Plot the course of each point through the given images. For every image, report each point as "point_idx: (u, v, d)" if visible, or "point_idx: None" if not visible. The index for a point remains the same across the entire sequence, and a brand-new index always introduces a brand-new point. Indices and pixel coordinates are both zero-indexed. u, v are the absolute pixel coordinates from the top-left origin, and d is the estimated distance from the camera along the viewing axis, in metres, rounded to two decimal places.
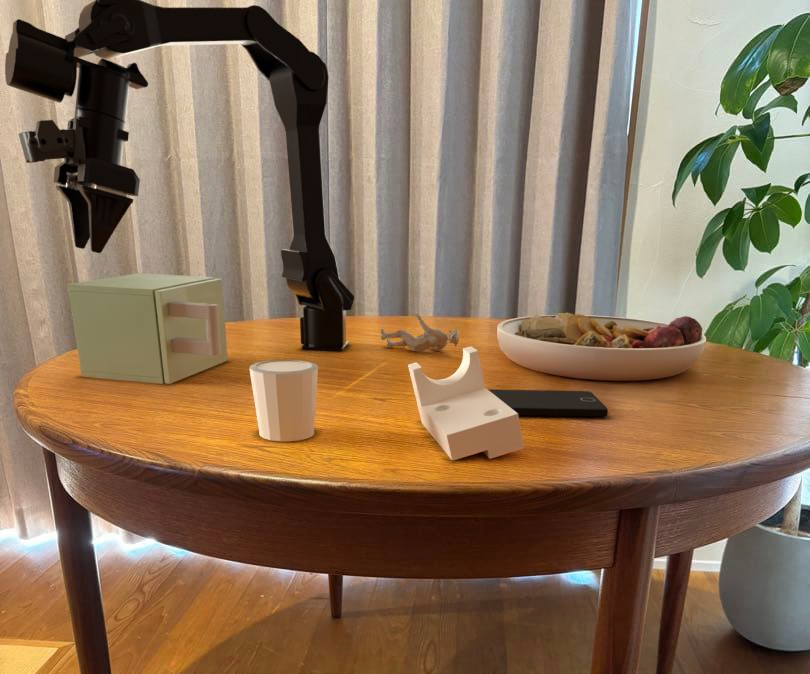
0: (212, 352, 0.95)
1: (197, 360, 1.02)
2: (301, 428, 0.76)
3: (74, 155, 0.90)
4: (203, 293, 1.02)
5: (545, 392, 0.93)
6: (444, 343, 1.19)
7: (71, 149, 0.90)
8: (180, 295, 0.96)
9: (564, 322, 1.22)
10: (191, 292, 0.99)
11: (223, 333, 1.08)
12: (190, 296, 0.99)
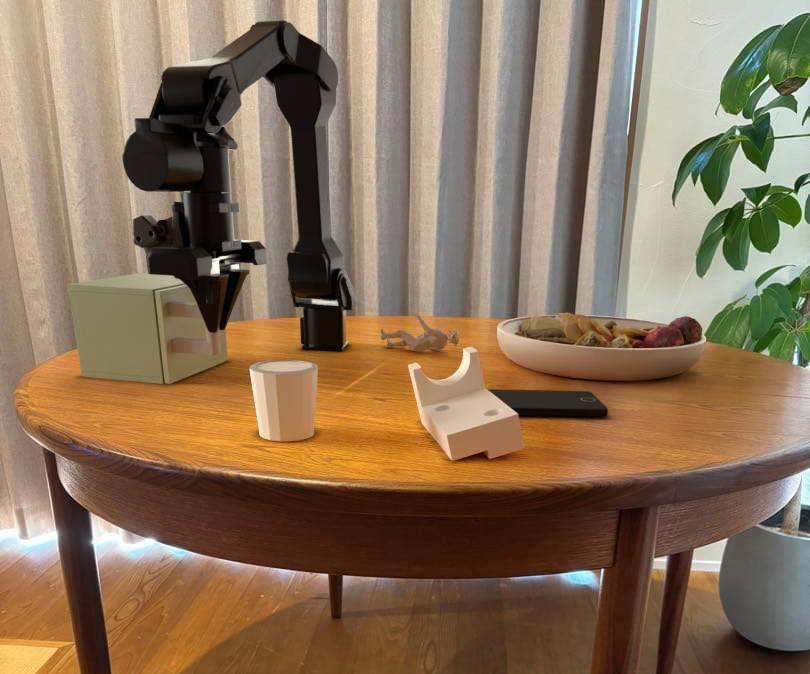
0: (212, 352, 0.95)
1: (197, 360, 1.02)
2: (301, 428, 0.76)
3: (173, 242, 0.88)
4: None
5: (545, 392, 0.93)
6: (444, 343, 1.19)
7: (171, 237, 0.88)
8: (180, 295, 0.96)
9: (564, 322, 1.22)
10: (191, 292, 0.99)
11: (223, 333, 1.08)
12: (190, 296, 0.99)
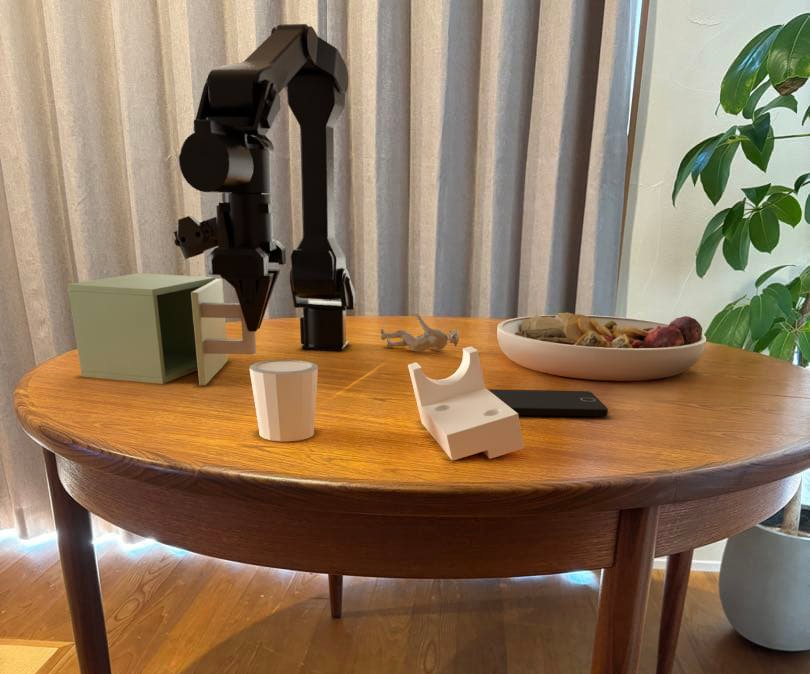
0: (249, 351, 0.96)
1: (215, 361, 1.02)
2: (301, 428, 0.76)
3: (218, 243, 0.89)
4: (215, 293, 1.02)
5: (545, 392, 0.93)
6: (444, 343, 1.19)
7: (215, 237, 0.89)
8: (206, 296, 0.96)
9: (564, 322, 1.22)
10: (210, 293, 0.99)
11: (225, 333, 1.08)
12: (210, 297, 0.99)
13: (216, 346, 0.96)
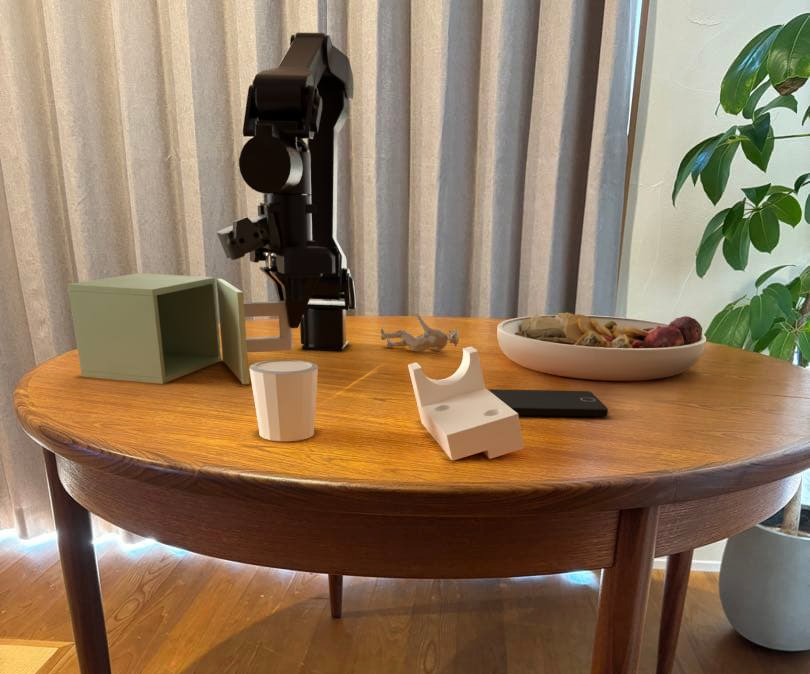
0: (288, 347, 0.99)
1: None
2: (301, 428, 0.76)
3: (270, 243, 0.91)
4: None
5: (545, 392, 0.93)
6: (444, 343, 1.19)
7: (266, 238, 0.91)
8: None
9: (564, 322, 1.22)
10: None
11: None
12: None
13: (256, 344, 0.97)
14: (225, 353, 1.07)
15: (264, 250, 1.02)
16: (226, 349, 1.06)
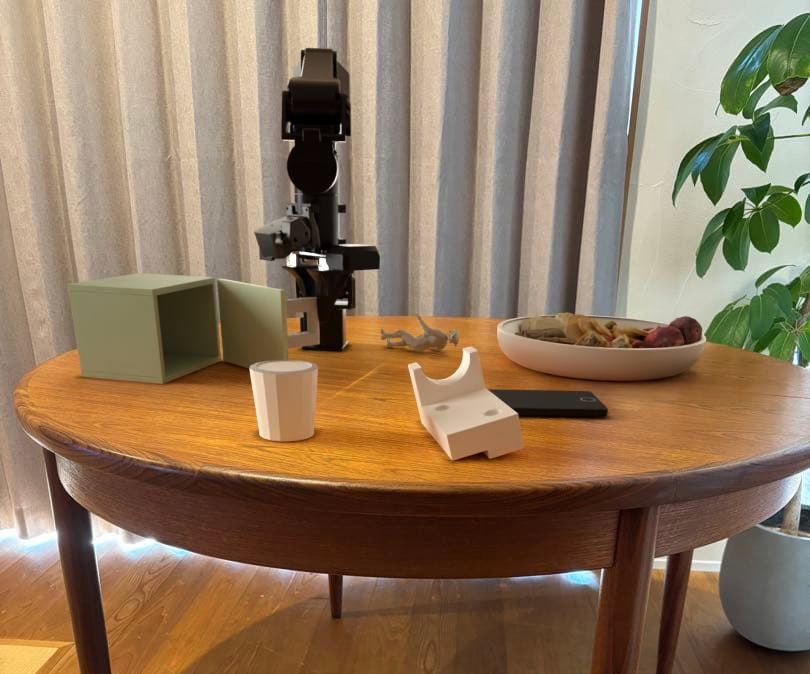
0: (317, 341, 1.03)
1: None
2: (301, 428, 0.76)
3: (312, 242, 0.95)
4: None
5: (545, 392, 0.93)
6: (444, 343, 1.19)
7: None
8: None
9: (564, 322, 1.22)
10: None
11: None
12: None
13: (292, 340, 1.00)
14: (233, 353, 1.08)
15: None
16: (237, 348, 1.07)
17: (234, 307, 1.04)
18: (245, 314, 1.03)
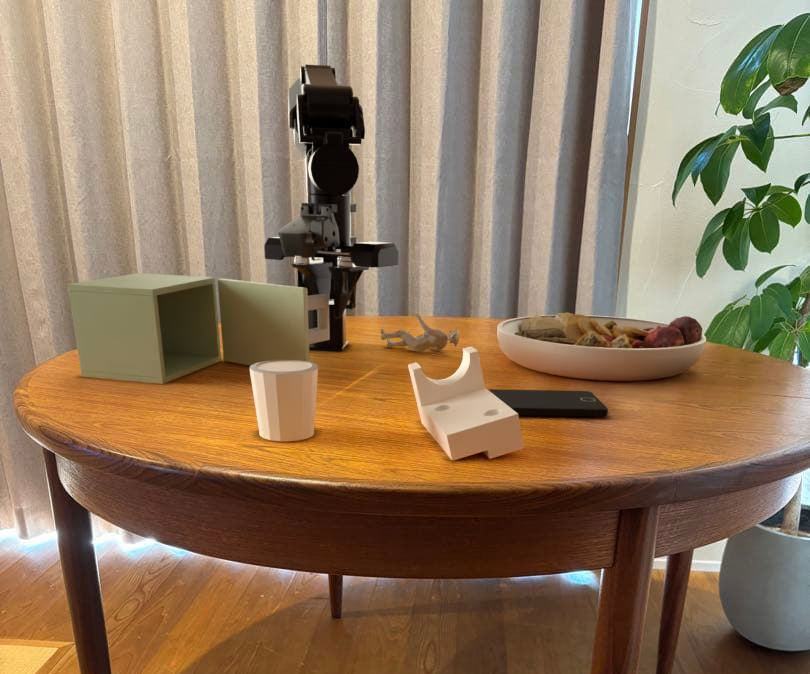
0: (328, 337, 1.06)
1: None
2: (301, 428, 0.76)
3: None
4: None
5: (545, 392, 0.93)
6: (444, 343, 1.19)
7: None
8: None
9: (564, 322, 1.22)
10: None
11: None
12: None
13: (309, 337, 1.03)
14: (238, 352, 1.08)
15: None
16: (243, 347, 1.07)
17: (240, 306, 1.05)
18: (255, 313, 1.04)
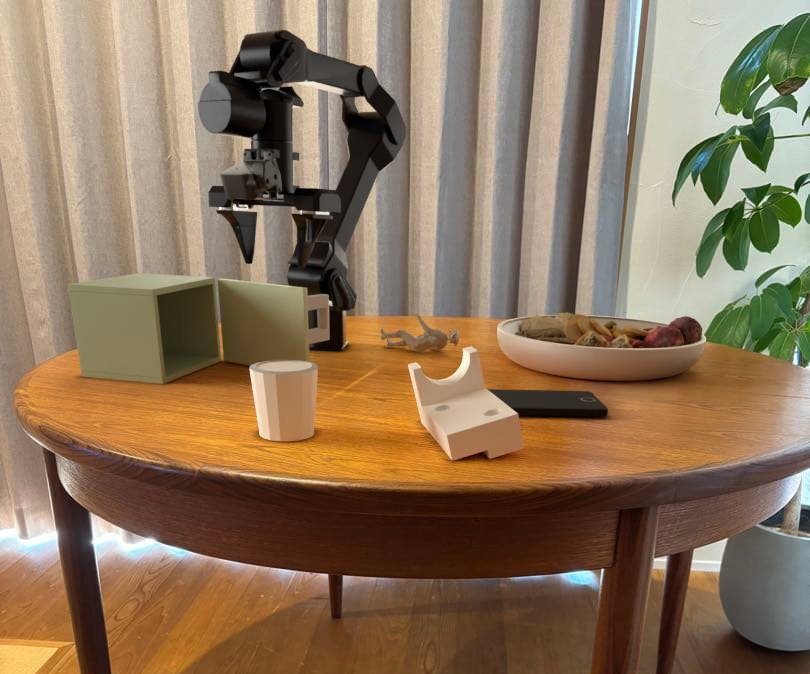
0: (328, 337, 1.06)
1: None
2: (301, 428, 0.76)
3: (276, 185, 1.00)
4: None
5: (545, 392, 0.93)
6: (444, 343, 1.19)
7: None
8: None
9: (564, 322, 1.22)
10: None
11: None
12: None
13: (309, 337, 1.03)
14: (238, 352, 1.08)
15: None
16: (243, 347, 1.07)
17: (240, 306, 1.05)
18: (255, 313, 1.04)
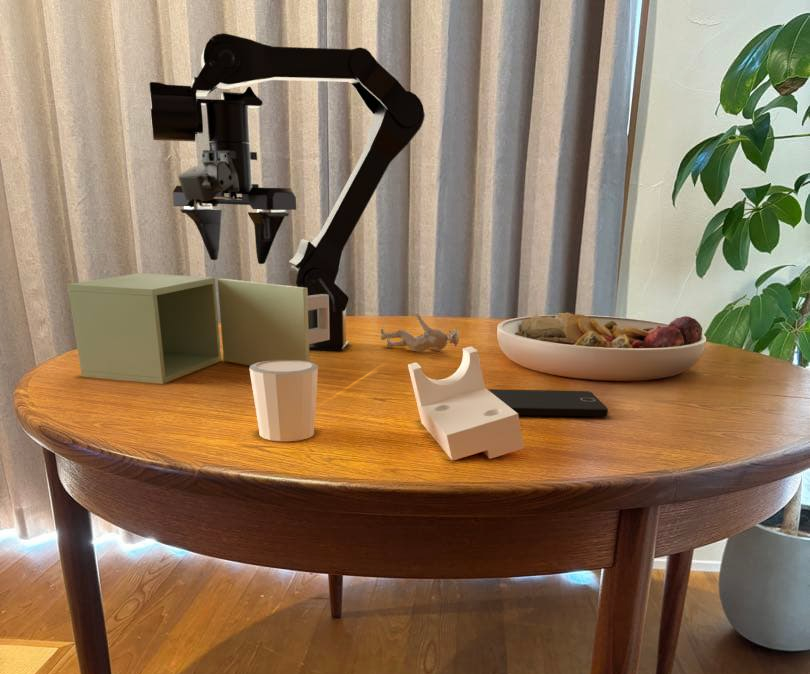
0: (328, 337, 1.06)
1: None
2: (301, 428, 0.76)
3: (232, 185, 1.05)
4: None
5: (545, 392, 0.93)
6: (444, 343, 1.19)
7: None
8: None
9: (564, 322, 1.22)
10: None
11: None
12: None
13: (309, 337, 1.03)
14: (238, 352, 1.08)
15: None
16: (243, 347, 1.07)
17: (240, 306, 1.05)
18: (255, 313, 1.04)
